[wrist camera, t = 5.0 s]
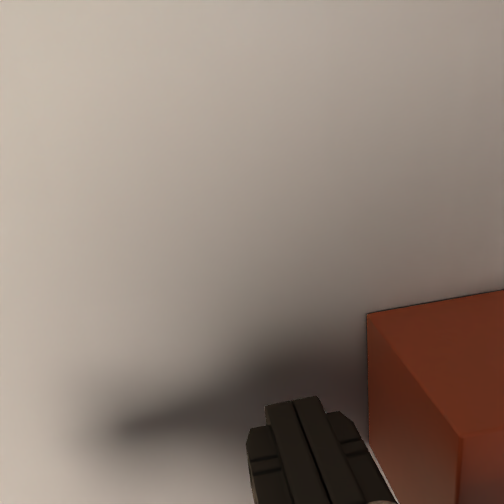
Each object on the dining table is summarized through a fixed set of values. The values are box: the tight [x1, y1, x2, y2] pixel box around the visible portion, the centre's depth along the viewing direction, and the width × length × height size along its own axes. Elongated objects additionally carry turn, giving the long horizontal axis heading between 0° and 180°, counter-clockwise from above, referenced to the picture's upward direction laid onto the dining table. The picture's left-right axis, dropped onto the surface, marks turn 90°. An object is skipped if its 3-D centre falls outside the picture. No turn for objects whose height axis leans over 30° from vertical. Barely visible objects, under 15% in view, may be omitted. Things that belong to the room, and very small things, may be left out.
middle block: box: [367, 290, 504, 504], centre depth 13 cm, size 5×5×5 cm
